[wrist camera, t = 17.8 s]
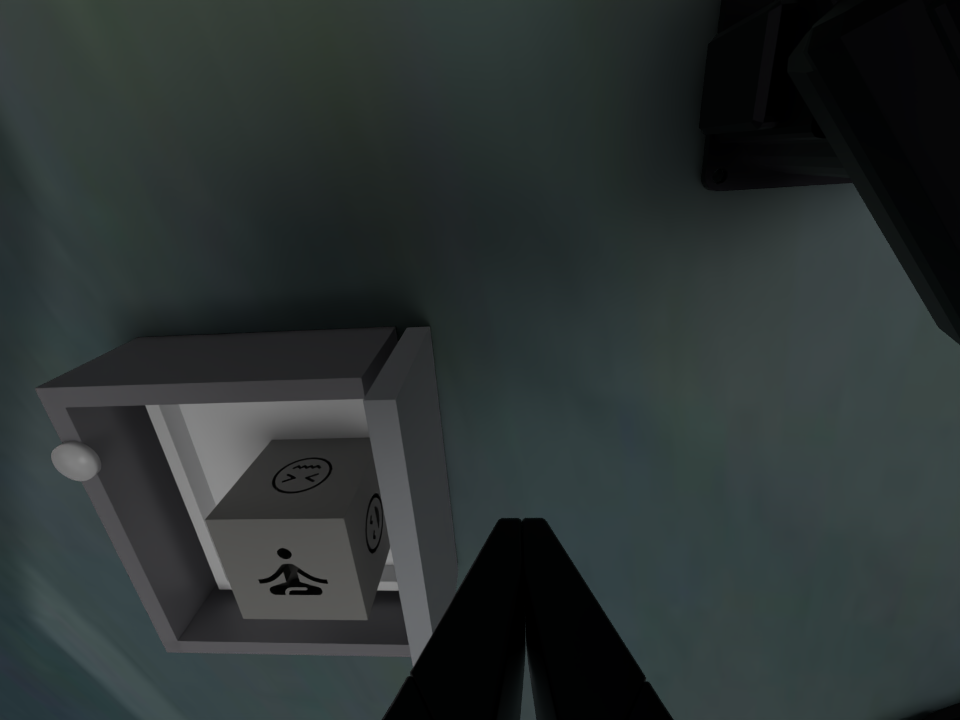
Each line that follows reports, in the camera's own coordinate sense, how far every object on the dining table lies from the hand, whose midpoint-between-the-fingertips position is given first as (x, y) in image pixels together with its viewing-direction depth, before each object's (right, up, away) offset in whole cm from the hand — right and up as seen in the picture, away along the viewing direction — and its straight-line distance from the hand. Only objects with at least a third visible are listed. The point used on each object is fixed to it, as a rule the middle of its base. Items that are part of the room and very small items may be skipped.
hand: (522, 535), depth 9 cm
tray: (-8, -2, +14) cm, 17 cm away
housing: (-10, -2, +15) cm, 18 cm away
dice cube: (-7, -2, +13) cm, 15 cm away
